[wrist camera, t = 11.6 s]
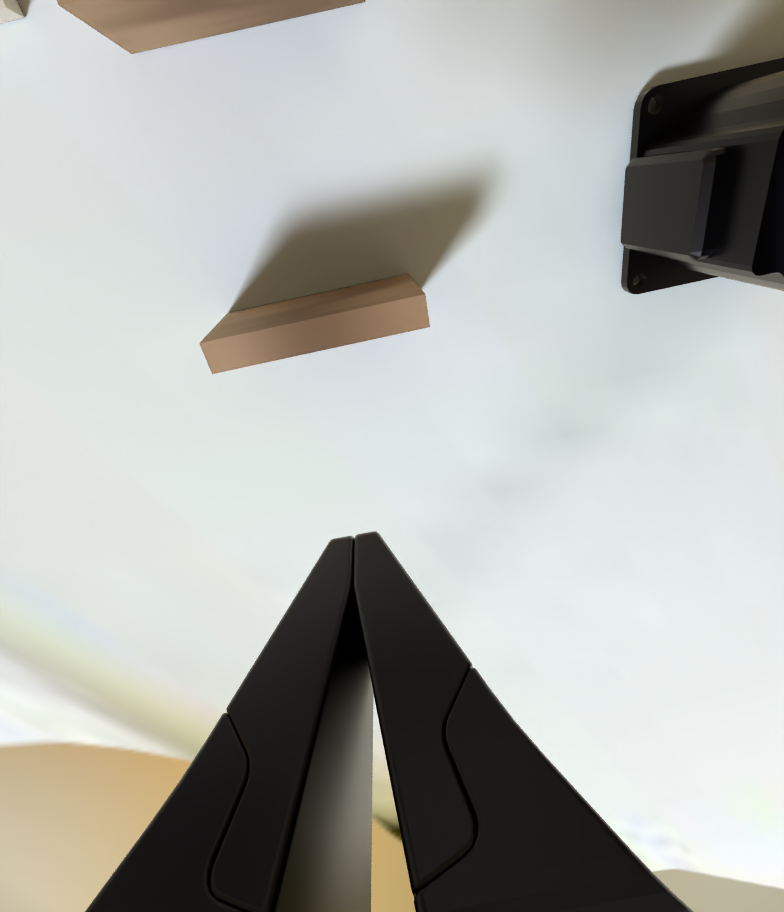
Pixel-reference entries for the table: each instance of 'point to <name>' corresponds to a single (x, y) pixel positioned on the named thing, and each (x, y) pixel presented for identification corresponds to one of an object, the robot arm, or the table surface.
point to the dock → (10, 11)
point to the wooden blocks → (287, 322)
